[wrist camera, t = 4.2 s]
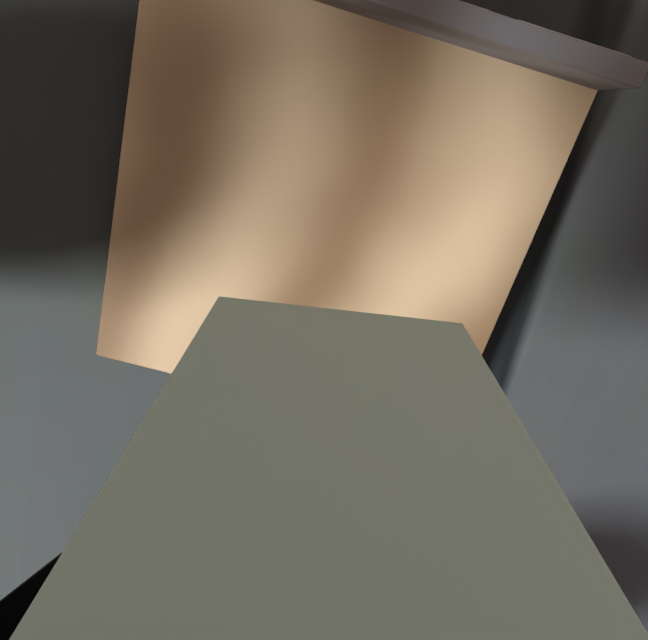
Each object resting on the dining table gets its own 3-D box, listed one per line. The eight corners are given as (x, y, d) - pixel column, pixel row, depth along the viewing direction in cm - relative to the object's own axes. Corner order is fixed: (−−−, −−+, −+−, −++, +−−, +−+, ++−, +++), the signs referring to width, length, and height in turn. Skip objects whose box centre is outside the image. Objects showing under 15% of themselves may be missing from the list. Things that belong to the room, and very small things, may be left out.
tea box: (208, 569, 11) (72, 1069, 5) (218, 296, 8) (-4, 662, 3) (405, 588, 11) (480, 1098, 5) (467, 323, 9) (715, 725, 3)
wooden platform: (109, 341, 21) (66, 385, 18) (162, -69, 16) (115, -116, 12) (438, 424, 22) (457, 480, 19) (590, 69, 17) (653, 59, 14)
